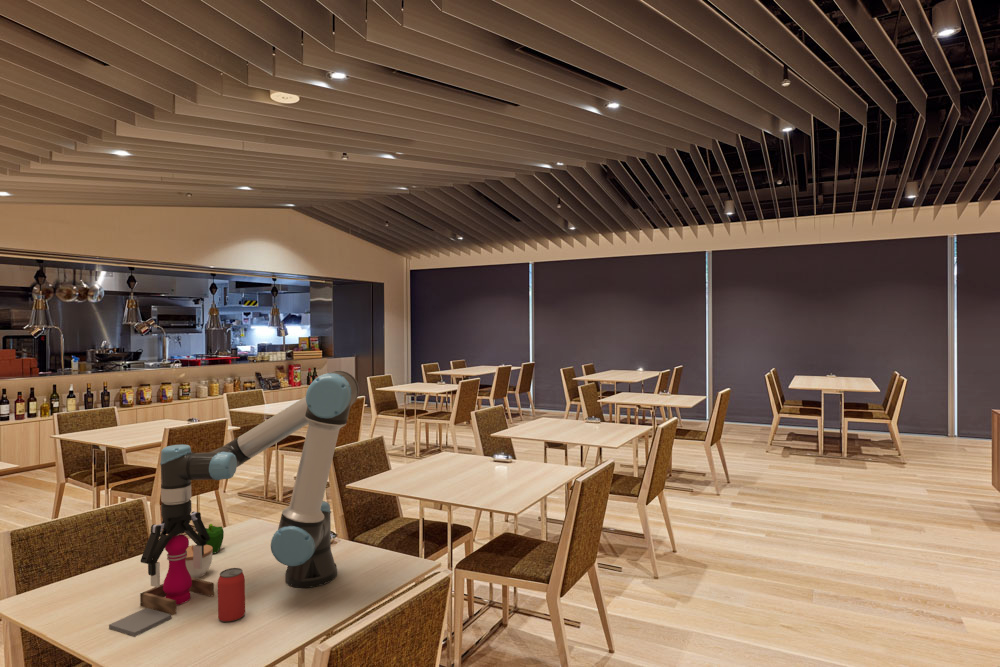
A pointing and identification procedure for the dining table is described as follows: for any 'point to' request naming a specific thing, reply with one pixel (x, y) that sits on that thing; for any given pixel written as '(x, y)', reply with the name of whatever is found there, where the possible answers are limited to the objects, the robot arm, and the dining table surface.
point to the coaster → (140, 621)
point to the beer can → (231, 595)
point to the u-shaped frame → (160, 603)
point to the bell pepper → (215, 537)
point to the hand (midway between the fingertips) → (177, 576)
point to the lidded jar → (205, 561)
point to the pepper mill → (177, 570)
